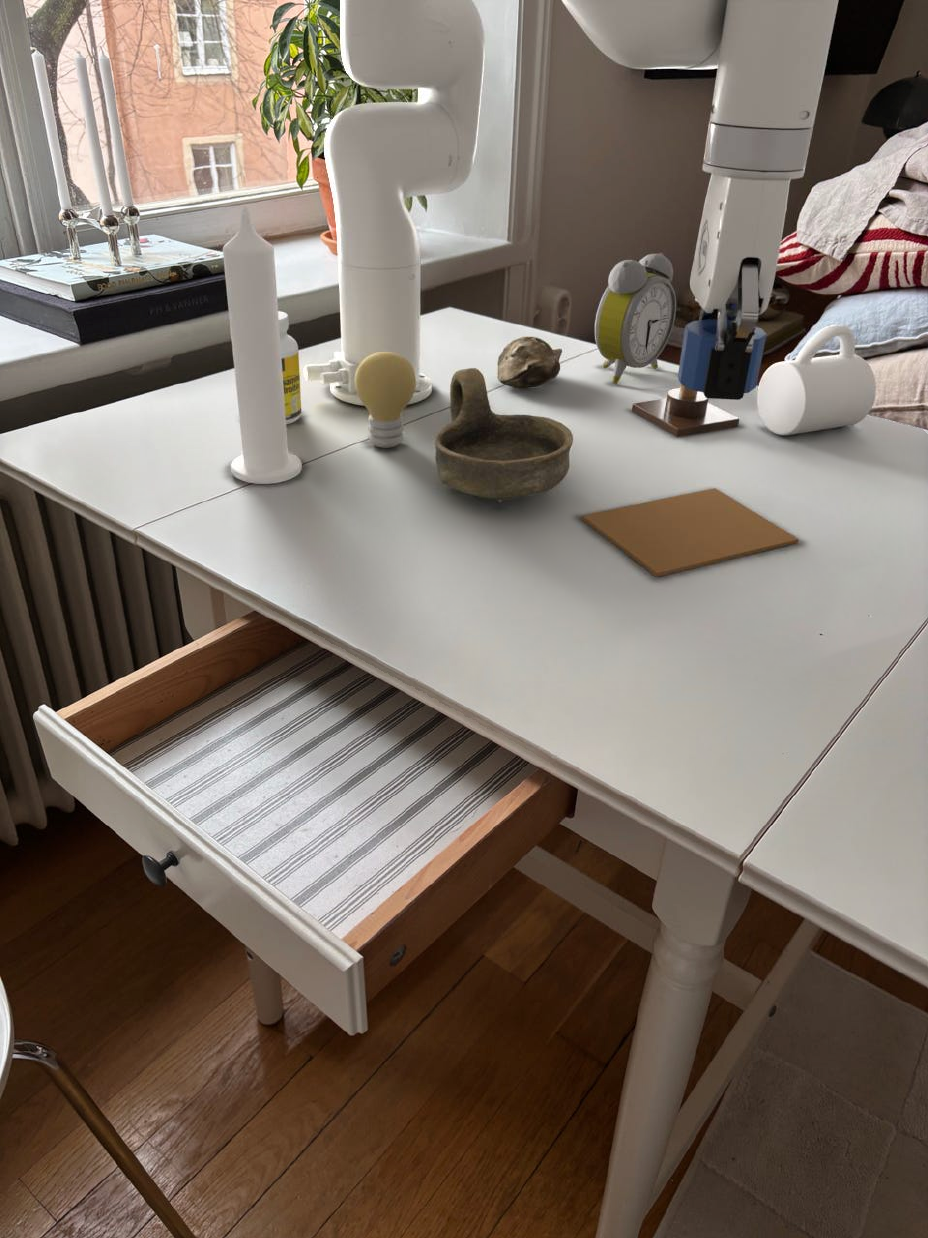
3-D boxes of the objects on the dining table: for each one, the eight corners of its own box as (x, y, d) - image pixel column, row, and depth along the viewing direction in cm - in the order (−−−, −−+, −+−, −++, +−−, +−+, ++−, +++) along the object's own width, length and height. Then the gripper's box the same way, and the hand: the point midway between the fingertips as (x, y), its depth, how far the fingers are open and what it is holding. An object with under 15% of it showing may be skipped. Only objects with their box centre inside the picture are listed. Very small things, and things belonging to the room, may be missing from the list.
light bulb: (425, 439, 106) (426, 349, 101) (398, 459, 101) (397, 366, 96) (375, 428, 108) (373, 340, 103) (345, 447, 103) (342, 356, 98)
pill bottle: (249, 430, 107) (239, 325, 100) (241, 410, 112) (231, 309, 106) (307, 425, 108) (301, 321, 102) (296, 405, 114) (290, 306, 107)
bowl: (468, 532, 87) (472, 429, 82) (399, 461, 101) (399, 368, 95) (597, 510, 92) (609, 410, 87) (516, 444, 106) (522, 355, 100)
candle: (308, 459, 100) (294, 202, 87) (292, 486, 94) (273, 216, 81) (243, 454, 101) (218, 198, 88) (222, 481, 95) (192, 211, 82)
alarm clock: (619, 389, 123) (635, 267, 115) (577, 376, 126) (589, 257, 118) (669, 370, 130) (686, 254, 122) (627, 358, 134) (641, 245, 126)
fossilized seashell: (531, 382, 116) (582, 378, 123) (519, 328, 116) (570, 327, 123) (488, 399, 122) (539, 395, 129) (476, 348, 121) (527, 347, 128)
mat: (656, 577, 82) (657, 573, 82) (581, 518, 91) (581, 515, 90) (798, 542, 88) (799, 539, 88) (714, 491, 97) (715, 487, 97)
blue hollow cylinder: (710, 399, 78) (720, 344, 76) (663, 375, 83) (670, 323, 80) (770, 389, 80) (781, 336, 78) (721, 367, 85) (730, 316, 83)
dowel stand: (676, 437, 109) (687, 368, 105) (631, 411, 116) (640, 345, 112) (738, 426, 113) (751, 359, 108) (690, 401, 119) (701, 337, 115)
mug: (750, 421, 114) (770, 319, 108) (817, 411, 118) (840, 312, 112) (797, 446, 108) (822, 340, 102) (866, 435, 112) (894, 331, 105)
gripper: (689, 137, 80) (659, 351, 89) (725, 164, 65) (684, 417, 74) (780, 141, 79) (741, 355, 89) (837, 169, 65) (782, 422, 74)
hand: (715, 381), depth 82 cm, fingers closed on blue hollow cylinder, 6 cm apart
